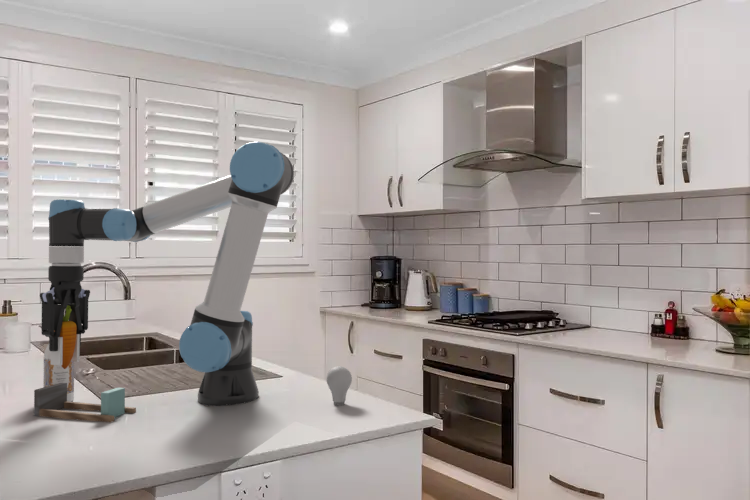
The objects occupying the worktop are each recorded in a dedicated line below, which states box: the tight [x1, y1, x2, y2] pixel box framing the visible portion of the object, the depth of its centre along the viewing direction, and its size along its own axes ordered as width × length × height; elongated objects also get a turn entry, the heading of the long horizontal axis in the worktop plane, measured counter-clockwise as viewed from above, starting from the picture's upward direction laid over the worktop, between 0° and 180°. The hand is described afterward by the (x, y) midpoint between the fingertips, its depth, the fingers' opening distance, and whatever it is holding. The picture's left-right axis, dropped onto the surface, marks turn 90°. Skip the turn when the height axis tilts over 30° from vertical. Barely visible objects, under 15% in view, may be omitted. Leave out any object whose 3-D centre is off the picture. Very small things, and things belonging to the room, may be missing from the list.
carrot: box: [54, 305, 77, 369], centre depth 150 cm, size 5×5×15 cm
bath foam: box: [43, 343, 75, 402], centre depth 160 cm, size 7×7×20 cm
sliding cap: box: [100, 387, 126, 418], centre depth 146 cm, size 2×6×6 cm, turn 163°
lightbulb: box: [326, 365, 353, 407], centre depth 152 cm, size 6×6×11 cm
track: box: [33, 383, 137, 423], centre depth 148 cm, size 22×8×6 cm, turn 73°
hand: (65, 362), depth 150 cm, fingers closed on carrot, 5 cm apart
